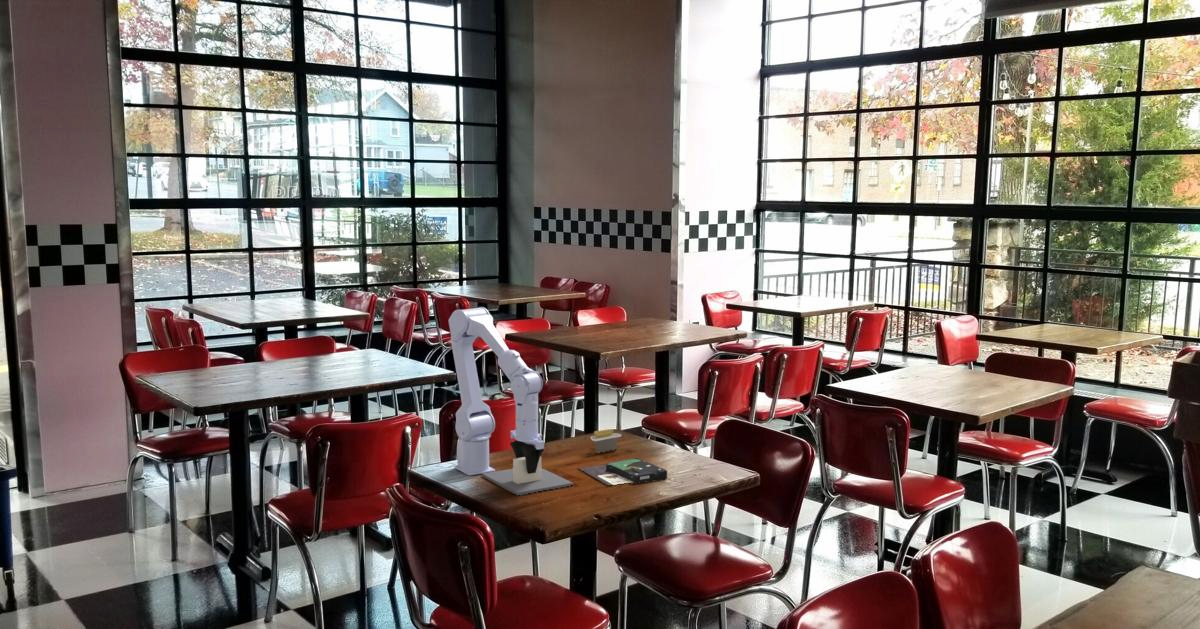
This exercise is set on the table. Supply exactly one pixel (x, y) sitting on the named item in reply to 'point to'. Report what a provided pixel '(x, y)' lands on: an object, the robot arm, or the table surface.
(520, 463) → the tile
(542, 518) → the table surface
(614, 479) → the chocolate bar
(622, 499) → the table surface
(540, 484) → the mat
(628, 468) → the disk drive
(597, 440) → the grey rimmed container
